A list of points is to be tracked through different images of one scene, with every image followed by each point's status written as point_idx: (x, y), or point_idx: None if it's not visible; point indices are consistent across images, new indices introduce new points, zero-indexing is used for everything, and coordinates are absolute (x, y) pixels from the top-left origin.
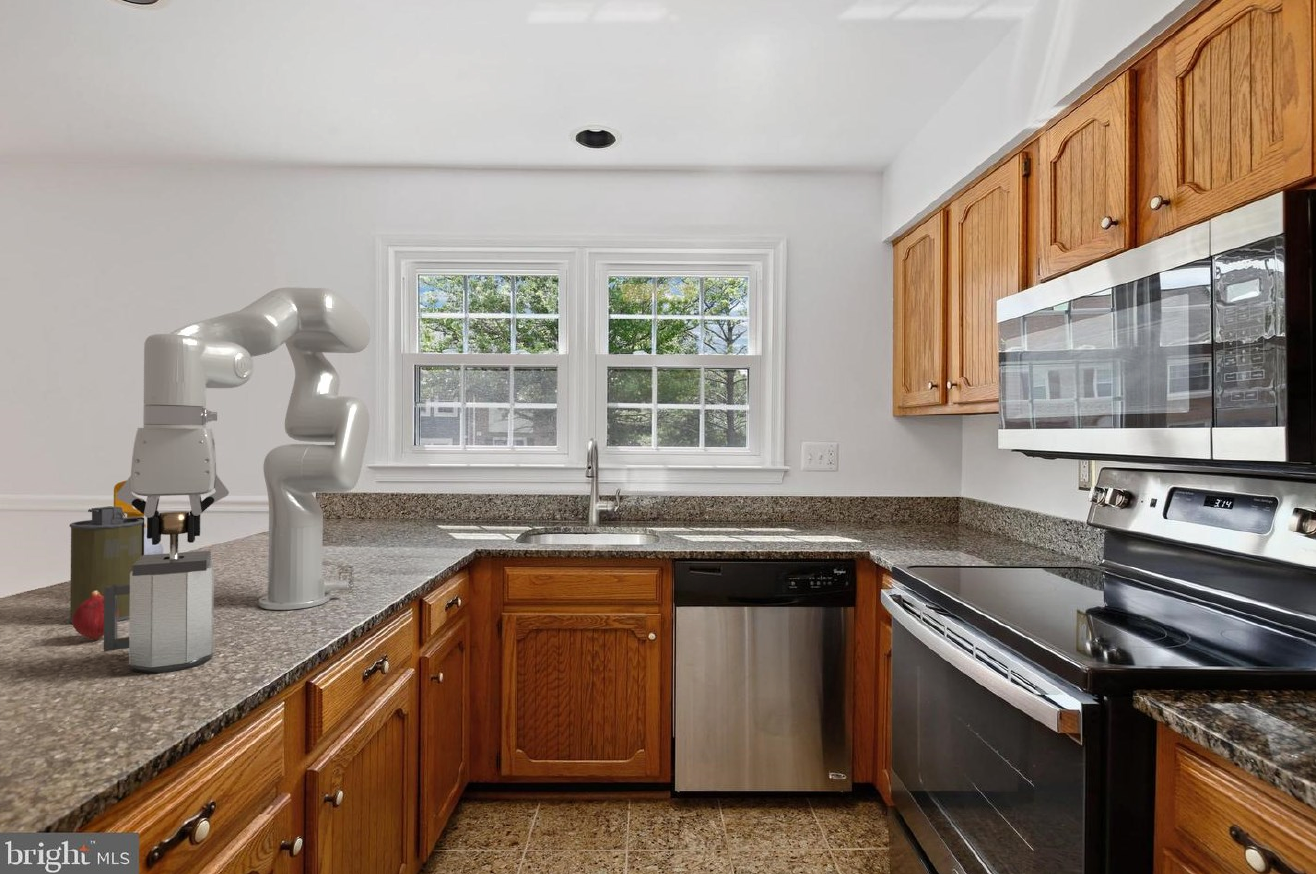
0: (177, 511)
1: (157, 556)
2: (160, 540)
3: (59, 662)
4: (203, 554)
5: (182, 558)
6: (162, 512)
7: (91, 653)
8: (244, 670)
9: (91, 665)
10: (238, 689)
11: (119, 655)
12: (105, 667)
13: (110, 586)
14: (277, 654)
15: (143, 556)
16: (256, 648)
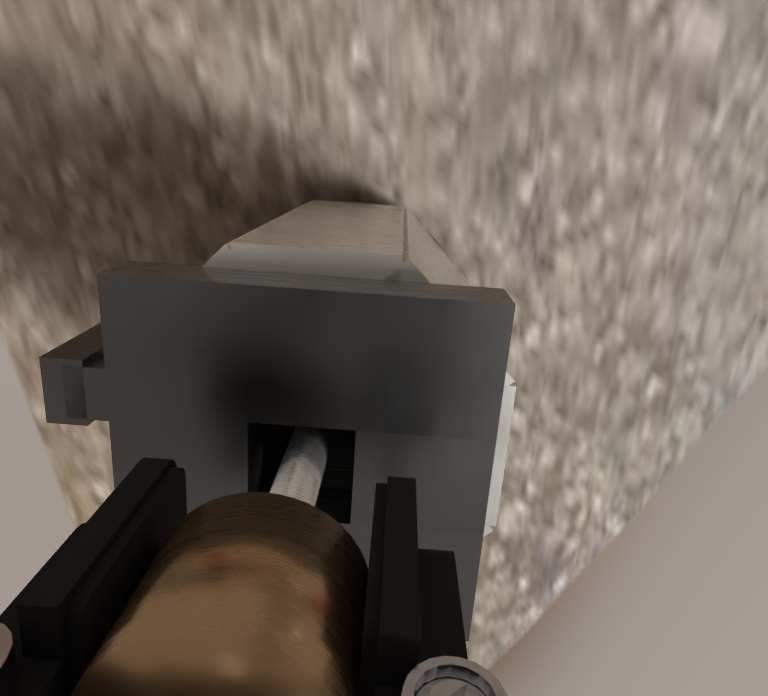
0: (227, 664)
1: (201, 381)
2: (183, 487)
3: (36, 119)
4: (462, 440)
5: (348, 526)
6: (79, 691)
7: (102, 52)
8: (524, 486)
9: (138, 212)
10: (496, 609)
11: (195, 135)
12: (182, 258)
13: (62, 397)
14: (627, 391)
15: (116, 339)
16: (585, 292)
